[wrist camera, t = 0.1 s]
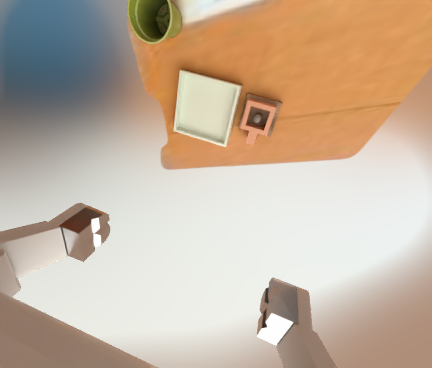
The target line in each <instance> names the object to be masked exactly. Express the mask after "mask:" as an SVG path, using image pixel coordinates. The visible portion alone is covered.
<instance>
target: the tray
mask: <svg viewBox="0 0 432 368" xmlns="http://www.w3.org/2000/svg"><path fill="white" fill-rule="evenodd" d="M242 86H243V85H239V84H235V83H232V82H228V81H224V80H220V79H217V78H213V77H209V76H205V75H202V74H198V73H194V72H190V71H187V70H180V74H179V83H178V93H177V102H176V112H175V121H174V131H175V132H178V133H182V134H185V135H188V136H191V137H195V138H198V139H201V140H204V141H207V142H211V143H214V144H217V145H220V146H223V147H226V146H227V145H228V142H229V138H230V134H231V130H232V126H233V122H234V118H235V114H236V110H237V106H238V102H239V98H240V94H241V90H242Z"/></svg>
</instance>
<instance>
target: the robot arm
mask: <svg viewBox="0 0 432 368" xmlns="http://www.w3.org/2000/svg"><path fill="white" fill-rule="evenodd" d="M108 221H109V215H108V214H106V213H104V212H102V211H99V210H97V209H95V208H92V207H90V206H87V205H85V204H82V203H78V204H75V205H74V206H72V207H71V208H69V209H68V210H66V211H65V212H63V213H62V214H60V215H58V216H57V217H55V218H54V219H52V220H51V221H49V222H47V221H44V222H39V223H35V224H31V225H27V226H22V227H18V228H14V229H10V230H6V231H1V232H0V368H157V367H155V366H153V365H151V364H149V363H146V362H145V361H142V360H141V359H138V358H136V357H134V356H132V355H130V354H128V353H126V352H124V351H122V350H120V349H118V348H116V347H114V346H112V345H109V344H107V343H105V342H103V341H101V340H99V339H97V338H95V337H93V336H91V335H89V334H87V333H85V332H83V331H81V330H79V329H76V328H74V327H72V326H70V325H68V324H66V323H64V322H62V321H60V320H58V319H56V318H53V317H52V316H49V315H47V314H45V313H43V312H41V311H39V310H37V309H35V308H33V307H31V306H29V305H27V304H24V303H22V302H20V301H19V300H16V299H14V298H12V297H13V296H14V295H15V294H16V293H17V292H18V291H20V288H21V286H20V284H19V281H18V279H17V278H19V277H22V276H24V275H26V274H29V273H31V272H33V271H35V270H38V269H40V268H42V267H45V266H47V265H49V264H51V263H53V262H56V261H58V260H60V259H63V258H65V257H67V255H68V256H70V257H73V258H75V259H78V260H80V261H83V262H84V261H85V260H86V259H87V258H88V257H89V256H90V255H91V254H92V253H93V252H94V250H95V247H96V246H99V245H102V243H103V242H104V241H105V240H106V239H107V237H108V236H109V233H110V226H109V224H108V223H107V222H108ZM260 311H261V313H262V316H261V317H260V319H259V321H258V331H257V337H259V338H262V339H264V340H266V341H268V342H270V343H272V344H274V345H277V350H278V353H279V355H280V358H281V361H282V364H283V367H284V368H337V367H336V365H335V363H334V362H333V360H332V359H331V357H330V355H329V353H328V352H327V350H326V348H325V346H324V345H323V343H322V341H321V340H320V338H319V336H318V334H317V333H316V332H314V331H313V330H312V319H311V308H310V298H309V292H308V291H307V290H304V289H301V288H299V287H296V286H294V285H291V284H289V283H286V282H283V281H281V280H278V279H275V278H272V279H271V281H270V282H269V288H266V289H265V291H264V293H263V296H262V300H261V305H260Z"/></svg>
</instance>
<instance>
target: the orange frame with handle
mask: <svg viewBox="0 0 432 368" xmlns="http://www.w3.org/2000/svg"><path fill="white" fill-rule="evenodd" d="M252 106H253V107H256V108H260V109H264V110H267V111H270V114H269V117H268V120H267V123H266V126H265V127H262V126H258V125H255V124H251V123H248V119H249V115H250V112H251V108H252ZM276 108H277V106H276V105H273V104H269V103H265V102H262V101H258V100H254V99H251V98H250V99H248V101H247V105H246V108H245V112H244V116H243V120H242V123H241V127H240V128H241V129H244V130H248V131H249V133H248V137H247V140H246V143H247V144H251V145H254V144H255V141H256V138H257V135H258V134H261V135H265V136H267V134H268V131H269V128H270V125H271V122H272V119H273V116H274V114H275V111H276Z"/></svg>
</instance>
